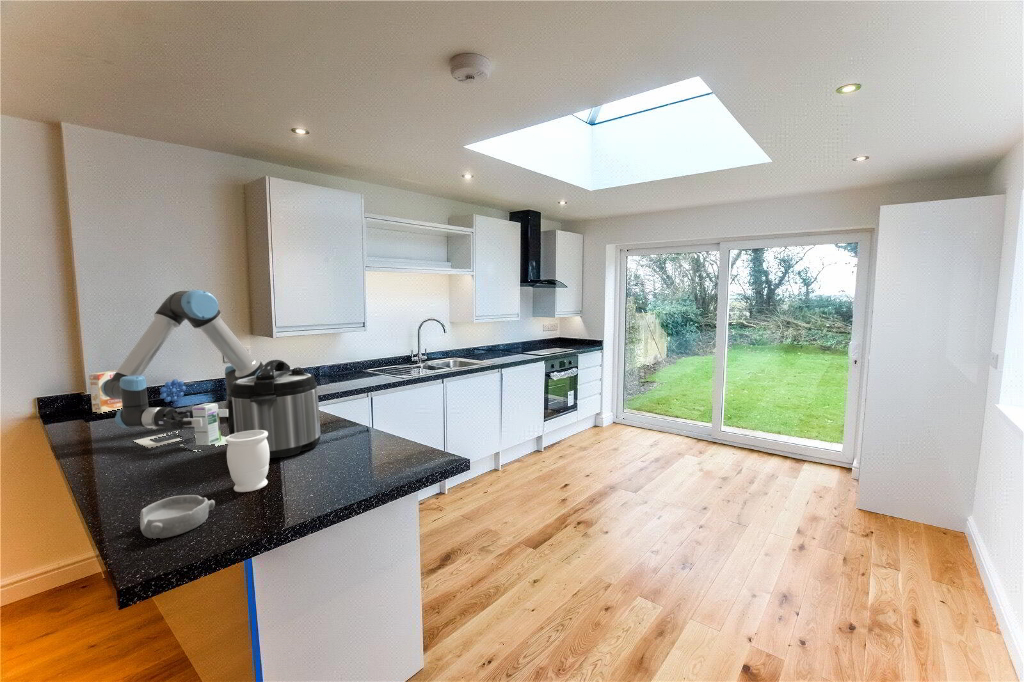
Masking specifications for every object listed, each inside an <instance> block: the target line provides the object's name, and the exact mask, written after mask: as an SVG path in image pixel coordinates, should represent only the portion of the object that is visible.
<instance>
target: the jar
mask: <svg viewBox="0 0 1024 682" xmlns="http://www.w3.org/2000/svg"><path fill="white" fill-rule="evenodd" d="M267 436H268V432H267V431H265V430H250V431H243V432H239V433H235V434H232V435H230V434H229V435H228V436H225V437H226V442H227V443H228V445H227V448H226V461H227V466H228V470H229V474H230V477H231V480H232V481H233V483H234V484H235V485H234V486H233V490H234V491H235V492H237V493H246V492H253V491H256V490H260V489H262V488H264V487H266V486H267V485H268V482H269V481H268V479H267V475H268V473H269V467H270V465H269V464H270V458H269V457H270V452H269V445H268V442H267V439H266V437H267Z"/></svg>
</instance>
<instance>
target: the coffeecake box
mask: <svg viewBox="0 0 1024 682" xmlns="http://www.w3.org/2000/svg"><path fill="white" fill-rule="evenodd" d="M117 370H118V369H115V370H108V371H107V370H106V371H102V372H101V371H100V372H92V373H89V374H88V377H89V378H88V379H89V387H90V388H89V389H90V398H91V409H92V413H93V412H97V413H96V414H100V413H102V414H104V413H103V412H107V413H109V412H108V411H112V410H116V411H118V410H117V409H121V408H122V400H120V399H112V398H109V397H107V396H105V395H104V394H103V393H102V391H101V386H102V384H103V383H104V382H105V381H106V380H108V379H111V378H112V377H113V376H114V374H115V373H116V372H117ZM112 412H113V411H112Z"/></svg>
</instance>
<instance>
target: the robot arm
mask: <svg viewBox="0 0 1024 682" xmlns="http://www.w3.org/2000/svg"><path fill="white" fill-rule="evenodd" d="M221 315H222V312H221V310H220V309H219V302H218V300H217V298H216V297H215V295H213V294H212V293H210V292H208V291H205V290H200V289H192V290H178V291H175V292H173V293H171V294H170V295H168V297H166V298H165V300H164V301H163V302H162V303H161V304H160V306H159V307H158V309H157V310H156V311H155V312H154V314H153V317H154V319H153V321H152V322H151V323H150V325H149V326H148V328H147V329H146V331H145V332H144V333H143V334H142V335H141V337H140V339H139V340H138V342H137V343H136V344H135V346H134V347H133V348H132V350H131V351H130V352H129V353H128V355H127V356H126V358H125V360H124V361H123V362H122V363H121V364H120V366H119V368H118V369H116V370H117V372H116V373H115V374H114V376H113V377H112V378H111V379H108V380H106V381H105V382H104V383H103V384H102V386H101V391H102V393H103V394H104V395H105V396H107V397H109V398H112V399H120V400H122V409H120V410H117V412H116V415H115V417H114V421H115V423H116V425H117V426H118V427H120V428H124V429H151V428H152V429H153V430H157V429H177V428H178V430H182V429H183V428H185V427H189V428H190V427H191V428H193V427H201V426H202V419H193V410H192V409H186V410H185V411H183V410H180V411H177V409H175V408H174V407H161V406H159V407H149V400H148V389H147V388H148V385H147V381H146V379H147V378H146V377H145V376H144V375H143V374H144V372H145V371H146V369H148V366H149V365H150V364H151V362H152V361H153V360H154V358H155V356H156V355H157V354H158V353H159V351H160V349H161V348H163V347H162V346H163V345H164V344H165V343H166V341H167V340H168V338H169V337H170V335H171V334H172V333H173V332H174V330H175V329H177V328H179V327H180V326H181V325H182V323H183V322H184V321H187V322H188V323H189V324H190V325H191V326H192V327H193V328H194V329H198V330H201V332H202V333H203V334H204V335H205V336H206V338H208V340H209V341H210V342H211V343H212V345H214V347H215V348H216V349H217V350H218V352H219V353H221V355H222V356H223V357H224V358H225V359H226V360H227V362H228V363H229V365H228V366H225V368H224V377H225V388H226V389H225V390H226V399H225V400H226V401H225V403H224V407H223V409H219V408H218V412H219V418H225V417H227V418H228V399H230V398H231V390H232V389H233V386H232V383H233V382H234V381H237V380H240V379H244V378H248V377H252V376H257V374H258V372H259V371H260V369H261V368H262V367H263V366H264V365H265V364H263V363H262V361H261V360H260V359H258V358H254V357H253V356H252V355H251V354H250V352H249V351H248V350H247V349H246V347H245V346H244V344H242V343H241V341H240V340H239V339H238V337H237V336H236V335H235V334H234V333H233V332H232V330H231V328H229V326H228V325H227V324H226V323H225V322H224V320H223V319H222V317H221Z"/></svg>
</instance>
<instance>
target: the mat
mask: <svg viewBox="0 0 1024 682" xmlns="http://www.w3.org/2000/svg"><path fill="white" fill-rule="evenodd" d="M226 437H227V436H224V435H221V441H219V442H217V443H214V444H215V446H216V447H217V446H218V445H219V446H220V445H224V446H226V445H225V444H228V443H227V442H226ZM183 444H184V443H183ZM183 444H182V443H181V444H179V445H180V446H184V445H183ZM180 446H179V447H180ZM185 448H186V447H185ZM185 448H184V449H185ZM217 448H218V447H217ZM193 451H196V452H197V450H193ZM193 451H192V452H193ZM199 451H201V450H199ZM196 452H195V453H196ZM201 452H202V451H201ZM197 453H198V452H197Z"/></svg>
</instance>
